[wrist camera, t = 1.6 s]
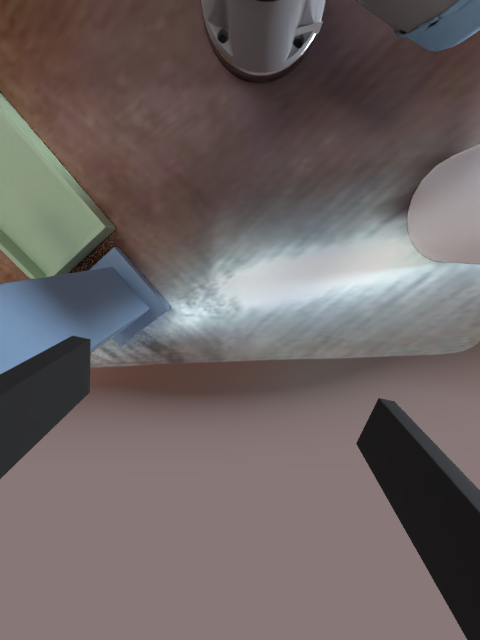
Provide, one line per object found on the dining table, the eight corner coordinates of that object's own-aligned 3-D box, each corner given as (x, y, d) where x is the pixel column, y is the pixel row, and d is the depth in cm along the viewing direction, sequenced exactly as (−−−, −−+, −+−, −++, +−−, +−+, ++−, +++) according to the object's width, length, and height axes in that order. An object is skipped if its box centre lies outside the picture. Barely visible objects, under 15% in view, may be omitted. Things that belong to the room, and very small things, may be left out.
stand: (62, 280, 40) (-373, 362, 12) (109, 236, 38) (-286, 206, 10) (124, 343, 44) (-95, 524, 15) (170, 307, 42) (16, 438, 13)
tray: (-93, 137, 34) (-125, 126, 31) (-33, 54, 31) (-61, 33, 28) (54, 285, 41) (40, 288, 38) (116, 228, 38) (105, 227, 35)
